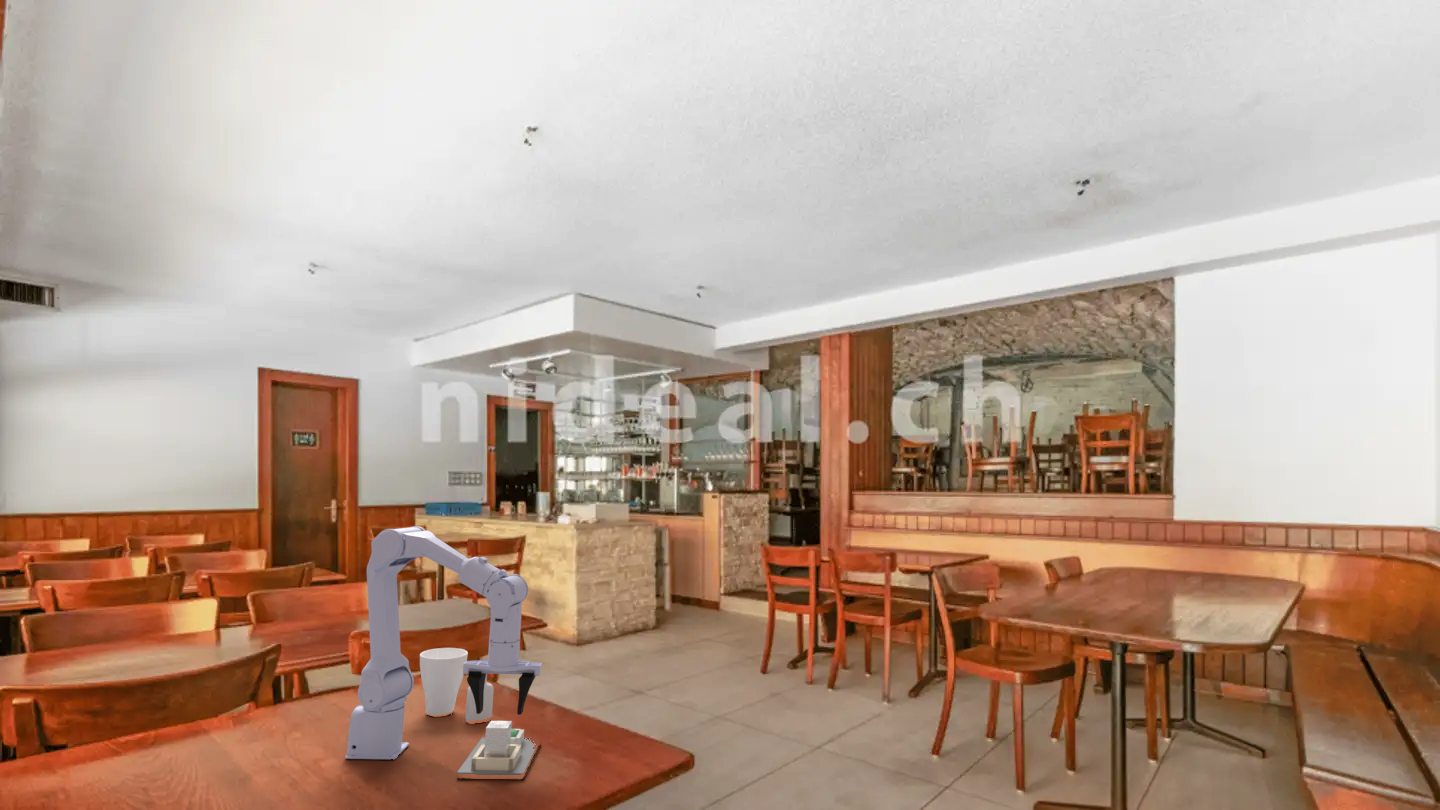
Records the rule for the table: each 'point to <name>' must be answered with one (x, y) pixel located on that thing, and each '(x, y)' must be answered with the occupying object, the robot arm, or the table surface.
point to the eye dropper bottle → (487, 703)
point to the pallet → (500, 766)
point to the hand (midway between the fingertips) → (499, 712)
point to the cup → (441, 678)
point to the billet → (498, 739)
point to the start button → (513, 733)
